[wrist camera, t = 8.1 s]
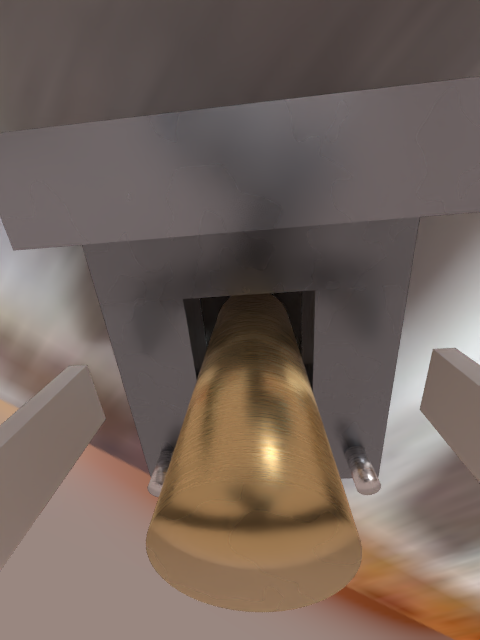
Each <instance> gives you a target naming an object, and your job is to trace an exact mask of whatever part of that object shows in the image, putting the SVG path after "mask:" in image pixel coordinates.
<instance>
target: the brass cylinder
mask: <svg viewBox="0 0 480 640" xmlns="http://www.w3.org/2000/svg"><path fill="white" fill-rule="evenodd" d="M146 550H147V554H148V557H149V560H150V562H151V564H152V566H153V567H154V569H155V570H156V571H157V573H158V574H159V575H160V576H161V577H162V578H163V579H164V580H165V581H166V582H167V583H169V584H170V585H171V586H172V587H174V588H176V589H177V590H178V591H180V592H182V593H184V594H186V595H187V596H189V597H192V598H194V599H196V600H198V601H201V602H204V603H207V604H210V605H213V606H217V607H221V608H226V609H231V610H238V611H246V612H275V611H285V610H292V609H297V608H301V607H305V606H308V605H312V604H314V603H317V602H320V601H322V600H324V599H327V598H328V597H330V596H332V595H334V594H336V593H337V592H338V591H340V590H341V589H342V588H344V587H345V586H346V585H347V584H348V583H349V582H350V581H351V580H352V578H353V577H354V576H355V574H356V573H357V571H358V569H359V567H360V563H361V559H362V546H361V541H360V538H359V535H358V531H357V528H356V525H355V522H354V519H353V516H352V513H351V510H350V507H349V503H348V500H347V497H346V494H345V491H344V488H343V485H342V482H341V479H340V475H339V472H338V469H337V466H336V463H335V460H334V457H333V454H332V451H331V447H330V444H329V441H328V438H327V435H326V432H325V429H324V426H323V423H322V419H321V416H320V413H319V410H318V407H317V404H316V401H315V398H314V394H313V391H312V388H311V385H310V382H309V379H308V376H307V373H306V370H305V366H304V363H303V360H302V357H301V354H300V351H299V348H298V345H297V342H296V338H295V335H294V332H293V329H292V326H291V323H290V320H289V317H288V314H287V311H286V309H285V307H284V305H283V304H282V303H281V302H280V301H279V300H278V299H277V298H276V297H274V296H273V295H271V294H269V293H265V294H250V295H235V296H232V297H230V298H229V299H228V300H227V301H226V302H225V303H224V304H223V306H222V307H221V309H220V311H219V314H218V317H217V320H216V323H215V326H214V329H213V332H212V335H211V339H210V342H209V345H208V348H207V351H206V354H205V357H204V360H203V363H202V366H201V369H200V372H199V375H198V378H197V382H196V385H195V388H194V391H193V394H192V397H191V400H190V403H189V406H188V409H187V412H186V415H185V418H184V421H183V424H182V428H181V431H180V434H179V437H178V440H177V443H176V446H175V449H174V452H173V455H172V458H171V461H170V464H169V467H168V471H167V474H166V477H165V480H164V483H163V486H162V489H161V492H160V495H159V499H158V501H157V504H156V507H155V510H154V514H153V517H152V520H151V523H150V526H149V529H148V532H147V538H146Z"/></svg>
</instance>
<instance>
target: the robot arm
mask: <svg viewBox="0 0 480 640" xmlns="http://www.w3.org/2000/svg"><path fill="white" fill-rule="evenodd" d="M420 410H421V412H422V413H423V414H424V415H425V416H426V418H427V419H428V420H429V421H430V423H431V424H432V425H433V426H434V428H435V429H436V430H437V431H438V432H439V434H440V435H441V436H442V437H443V439H444V440H445V441H446V442H447V444H448V445H449V446H450V447H451V449H452V450H453V451H454V452H455V453H456V455H457V456H458V457H459V458H460V460H461V461H462V462H463V463H464V465H465V466H466V467H467V468H468V469H469V471H470V472H471V473H472V474H473V476H474V477H475V478H476V479H477V481H478V482H479V483H480V365H479V364H477V363H476V362H475V361H473V360H472V359H470V358H469V357H468V356H466V355H465V354H463V353H462V352H460V351H459V350H458V349H456V348H443V349H433V351H432V356H431V360H430V365H429V370H428V374H427V379H426V383H425V388H424V393H423V397H422V402H421V406H420ZM105 420H106V418H105V415H104V412H103V409H102V406H101V403H100V401H99V398H98V395H97V392H96V389H95V386H94V383H93V381H92V378H91V375H90V372H89V369H88V366H87V365H78V366H68V367H67V368H66V369H65V370H64V371H62V372H61V373H60V374H59V375H58V376H57V377H55V378H54V379H53V380H52V381H51V382H50V383H49V384H47V385H46V386H45V387H44V388H43V389H42V390H40V391H39V392H38V393H37V394H36V395H35V396H34V397H32V398H31V399H30V400H29V401H28V402H27V403H25V404H24V405H23V406H22V407H21V408H20V409H19V410H17V411H16V412H15V413H14V414H13V415H12V416H11V417H9V418H8V419H7V420H6V421H5V422H4V423H2V424H1V425H0V571H1V569H2V568H3V567H4V565H5V564H6V562H7V560H8V559H9V558H10V556H11V555H12V554H13V552H14V551H15V549H16V548H17V546H18V545H19V543H20V542H21V541H22V539H23V538H24V536H25V535H26V533H27V532H28V531H29V529H30V528H31V526H32V525H33V523H34V522H35V520H36V519H37V517H38V516H39V515H40V513H41V512H42V510H43V509H44V507H45V506H46V505H47V503H48V502H49V500H50V499H51V497H52V496H53V494H54V493H55V492H56V490H57V489H58V487H59V486H60V484H61V483H62V482H63V480H64V479H65V477H66V476H67V474H68V473H69V471H70V470H71V469H72V467H73V466H74V464H75V463H76V461H77V460H78V458H79V457H80V456H81V454H82V453H83V451H84V450H85V448H86V447H87V446H88V444H89V443H90V441H91V440H92V438H93V437H94V435H95V434H96V433H97V431H98V430H99V428H100V427H101V425H102V424H103V422H104V421H105Z"/></svg>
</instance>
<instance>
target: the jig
mask: <svg viewBox="0 0 480 640" xmlns="http://www.w3.org/2000/svg"><path fill="white" fill-rule="evenodd" d="M472 212H480V76H479V77H471V78H462V79H454V80H445V81H436V82H428V83H419V84H411V85H402V86H394V87H385V88H377V89H368V90H360V91H351V92H343V93H334V94H326V95H317V96H309V97H300V98H291V99H283V100H274V101H266V102H257V103H249V104H240V105H232V106H223V107H215V108H206V109H198V110H189V111H181V112H172V113H164V114H155V115H147V116H138V117H129V118H121V119H112V120H104V121H95V122H87V123H78V124H70V125H61V126H53V127H44V128H36V129H27V130H19V131H10V132H2V133H0V217H1V219H2V222H3V225H4V227H5V230H6V232H7V235H8V237H9V240H10V242H11V245H12V248H13V250H25V249H37V248H49V247H61V246H73V245H82V246H83V250H84V253H85V256H86V260H87V263H88V267H89V270H90V273H91V277H92V280H93V283H94V287H95V290H96V294H97V297H98V300H99V304H100V307H101V311H102V314H103V317H104V321H105V324H106V327H107V331H108V334H109V338H110V341H111V344H112V348H113V351H114V355H115V358H116V361H117V365H118V368H119V371H120V375H121V378H122V382H123V385H124V388H125V392H126V395H127V398H128V402H129V405H130V409H131V412H132V415H133V419H134V422H135V426H136V429H137V432H138V436H139V439H140V442H141V446H142V449H143V453H144V456H145V459H146V463H147V466H148V470H149V473H150V476H151V480H150V483H149V485H148V491H149V493H150V494H152V495H153V496H156V497H159V495H160V492H161V489H162V486H163V483H164V480H165V477H166V474H167V471H168V467H169V464H170V461H171V458H172V455H173V452H174V449H175V446H176V443H177V440H178V437H179V434H180V431H181V428H182V424H183V421H184V418H185V415H186V412H187V409H188V406H189V403H190V400H191V397H192V394H193V391H194V388H195V385H196V382H197V378H198V375H199V372H200V369H201V366H202V363H203V360H204V357H205V354H206V351H207V343H206V336H205V329H204V322H203V316H202V309H201V302H200V298H204V297H219V296H235V295H250V294H265V293H280V292H296V291H302V360H303V363H304V366H305V370H306V373H307V376H308V379H309V382H310V385H311V388H312V391H313V394H314V398H315V401H316V404H317V407H318V410H319V413H320V416H321V419H322V423H323V426H324V429H325V432H326V435H327V438H328V441H329V444H330V447H331V451H332V454H333V457H334V460H335V463H336V466H337V469H338V472H339V475H340V478H353V480H354V483H355V486H356V488H357V491H358V492H359V493H361V494H363V495H372V494H375V493H377V492H378V491H379V490H380V488H381V484H380V482H379V479H378V475H379V469H380V463H381V457H382V450H383V444H384V438H385V432H386V425H387V419H388V413H389V406H390V400H391V394H392V388H393V381H394V375H395V369H396V363H397V356H398V350H399V344H400V338H401V331H402V325H403V319H404V312H405V306H406V300H407V294H408V287H409V281H410V275H411V269H412V262H413V256H414V250H415V244H416V237H417V231H418V225H419V218H420V217H424V216H436V215H448V214H460V213H472Z"/></svg>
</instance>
